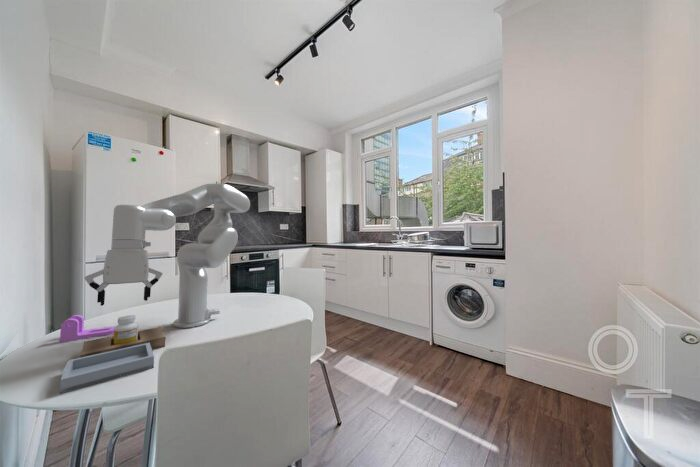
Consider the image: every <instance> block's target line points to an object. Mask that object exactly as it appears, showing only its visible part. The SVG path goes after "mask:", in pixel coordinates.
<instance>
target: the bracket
mask: <svg viewBox="0 0 700 467" xmlns="http://www.w3.org/2000/svg"><path fill="white" fill-rule="evenodd" d="M84 324H85V317H84V316H83V315H81V314H74V315H72V316H70V317H68V319H66V320H64V321H63V322H62V323H61V324H60V335H59V336H60V337H59V338H60V339H59V341H60V343H64V342H71V341H77V340H83V339H91V338H97V337H98V338H99V337H105V336H106V337H107V336H111V335H114V328H115V327H116V326H117V325H115V326H107V327H105V326H104V327H99V328H89V329H85V328H84Z"/></svg>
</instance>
